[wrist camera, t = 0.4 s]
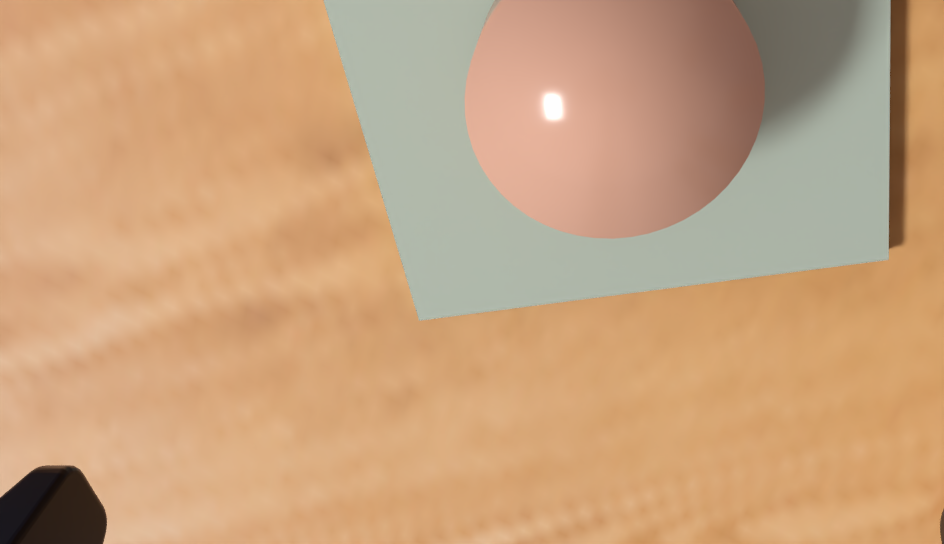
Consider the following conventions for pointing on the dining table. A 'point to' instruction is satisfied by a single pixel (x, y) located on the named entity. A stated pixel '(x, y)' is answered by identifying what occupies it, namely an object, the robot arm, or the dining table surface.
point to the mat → (645, 256)
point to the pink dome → (613, 109)
